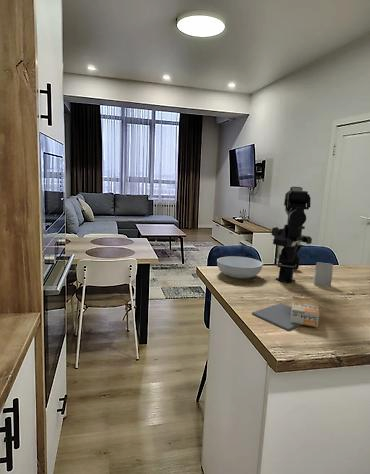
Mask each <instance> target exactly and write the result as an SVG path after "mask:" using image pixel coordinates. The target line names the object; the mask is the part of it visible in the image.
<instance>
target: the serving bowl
mask: <svg viewBox="0 0 370 474" xmlns="http://www.w3.org/2000/svg"><path fill="white" fill-rule="evenodd" d="M216 263H217V264H216V265H217V268H218V270H219V271H220V272H221V273H222V274H224V275H226V276H228V277H232V278H235V279H249V278H253V277H255V276H258V275H259V274H260V272H261V271H262V269H263V266H264V263H263V262H262V261H260V260H258V259H255V258H251V257H247V256H246V257H245V256H223V257H219V258H217V260H216Z"/></svg>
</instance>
